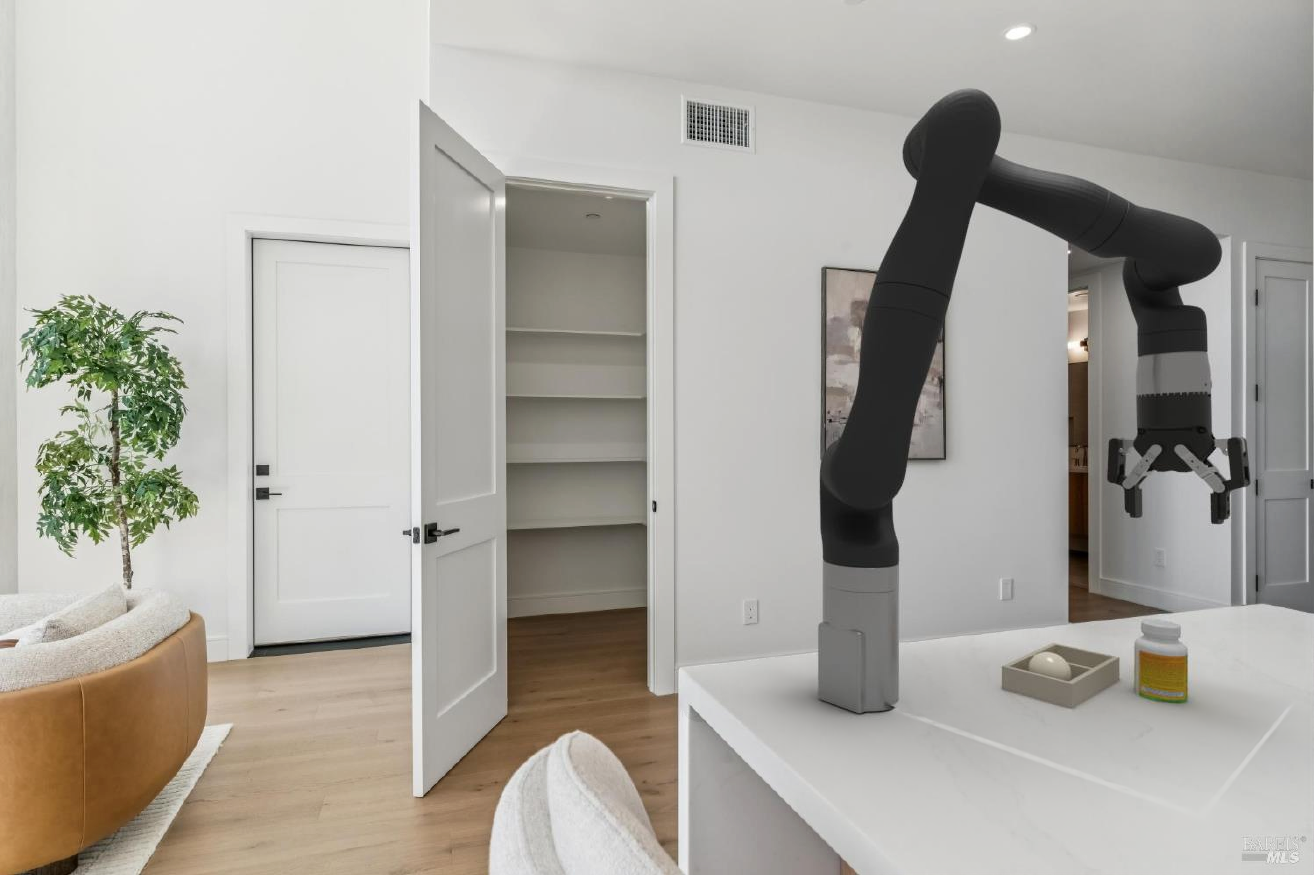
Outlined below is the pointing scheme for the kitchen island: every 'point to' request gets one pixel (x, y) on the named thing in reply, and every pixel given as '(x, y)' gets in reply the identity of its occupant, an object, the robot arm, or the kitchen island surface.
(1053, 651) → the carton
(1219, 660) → the kitchen island surface
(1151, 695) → the supplement bottle
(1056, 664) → the egg
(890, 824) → the kitchen island surface
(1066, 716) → the kitchen island surface
